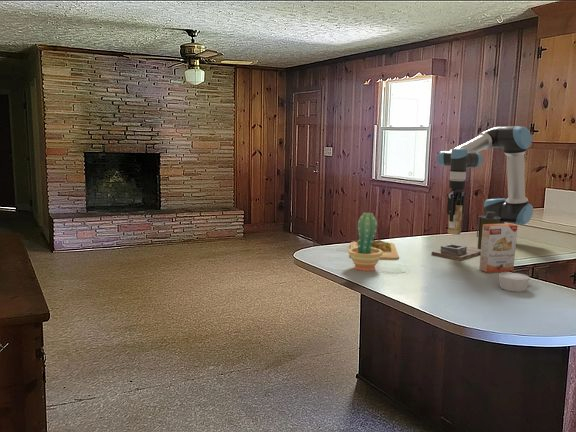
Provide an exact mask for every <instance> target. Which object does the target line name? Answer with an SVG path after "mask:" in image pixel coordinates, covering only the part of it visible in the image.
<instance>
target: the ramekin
mask: <svg viewBox="0 0 576 432" xmlns="http://www.w3.org/2000/svg"><path fill="white" fill-rule="evenodd" d="M498 279H499V286H500V288H501V289H503V290H505V291H509V292H514V293H515V292H518V293H522V292H525V291H526V290H527V289H528V284H529V281H530V276H528V275H527V274H523V273H518V272H499V273H498Z"/></svg>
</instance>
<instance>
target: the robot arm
mask: <svg viewBox="0 0 576 432" xmlns="http://www.w3.org/2000/svg"><path fill="white" fill-rule="evenodd" d="M531 144H532V134H531V132H530V130H529V129H528V128H527V127H525V126H519V125H514V126H513V125H511V126H508V125H507V126H503V125H502V126H501V125H499V126H495V127H492V128H489V129H487V130H484V131H482V132H480V133H479V134H477V136H476V137H474V138H472V139H469V141H466V142H465V143H462V144H461V145H458V146H456V147H455V148H452V149H450V150H447V151H446V150H443V151H442V150H441V151H439V153H438V154H437V157H436V161H437V164H438V165H439V166H443V167H450V168H449V181H448V182H449V184H448V188H449V189H451V191H450V193H447V195H446V197H447V206H446V208H447V209H446V213H447V215H448V216H449V215H450V218H449V217H448V219H449V228H455V215H454V214H455V209H456V205H461V206H462V215H463V214H464V211H465V203H466V202H465V200H466V192H464V189H466V179H467V169H468V168H473V169H475V168H479V167H480V166H481V165H482V164H483V156H482V154H481V153H480V152H481V151H483V150H489V149H494V148H497V149H503V150H502V151H503V154H504V155H505V156H506V174H507V177H506V178H507V198H504V197H503V198H490V199H489V198H488V199H485V200H484V203H483V204H484V205H483V216H486V212H495V213H496V214H495V213H494V216H497V217H500V218H501V219H500V224H506V223H510V224H514V225H526V224H528V223H529V222H530V221H531V219H532V217H533V214H534V207H533V205H532V204H530V203H529V199H528V197H526V186H525V184H526V183H525V182H526V181H525V153H526V152H527V150H528V149H529V148H530V146H531Z"/></svg>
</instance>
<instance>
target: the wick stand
mask: <svg viewBox="0 0 576 432" xmlns="http://www.w3.org/2000/svg"><path fill="white" fill-rule="evenodd" d="M480 254H481V249H477V248H475V247H470V246H466V245H464V246H463V245H459V244H453V243H449V244H444V245H441V246H440V249H436V250H433V251H431V256H437V257H442V258H447V259H452V260H457V261H464V260H467V259H470V258H473V257H477V256H480Z"/></svg>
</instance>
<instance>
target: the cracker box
mask: <svg viewBox="0 0 576 432" xmlns="http://www.w3.org/2000/svg"><path fill="white" fill-rule="evenodd" d="M517 235H518V224H514V223H508V222H505V224H483V229H482V241H481V254H480V255H479V256H480V257H479V267H478V268H479V271H481V272H484V273H490V274H491V273H507V272H514V269H515V258H516V257H515V256H516V247H517Z"/></svg>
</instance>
